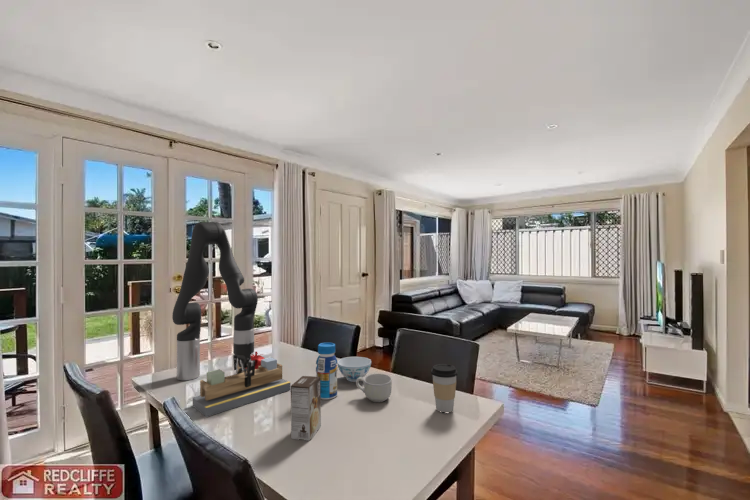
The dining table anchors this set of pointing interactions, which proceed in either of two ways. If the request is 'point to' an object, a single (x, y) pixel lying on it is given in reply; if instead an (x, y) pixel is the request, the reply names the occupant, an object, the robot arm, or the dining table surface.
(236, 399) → the plate
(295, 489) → the dining table surface
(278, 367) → the long wooden trough
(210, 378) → the block
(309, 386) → the coffee box
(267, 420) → the dining table surface
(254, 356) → the pomegranate
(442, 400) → the coffee cup
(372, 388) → the teacup
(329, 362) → the beverage bottle
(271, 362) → the pale blue block
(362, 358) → the chinaware
